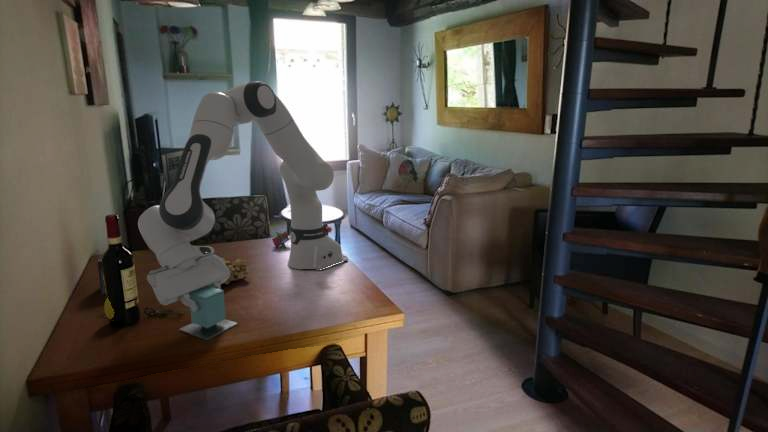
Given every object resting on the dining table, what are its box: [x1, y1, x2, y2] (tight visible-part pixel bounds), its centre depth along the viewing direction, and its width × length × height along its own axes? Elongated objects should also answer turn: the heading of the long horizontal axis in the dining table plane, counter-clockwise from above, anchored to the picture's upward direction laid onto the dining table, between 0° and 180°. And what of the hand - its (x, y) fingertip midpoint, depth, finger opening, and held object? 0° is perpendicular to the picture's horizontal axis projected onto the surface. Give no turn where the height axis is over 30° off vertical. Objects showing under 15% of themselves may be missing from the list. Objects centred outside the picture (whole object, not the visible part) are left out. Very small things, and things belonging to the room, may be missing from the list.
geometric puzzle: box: [272, 231, 291, 249], centre depth 190 cm, size 7×7×8 cm
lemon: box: [103, 297, 115, 320], centre depth 121 cm, size 6×6×8 cm
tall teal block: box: [189, 286, 227, 328], centre depth 118 cm, size 6×6×8 cm
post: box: [179, 319, 239, 341], centre depth 119 cm, size 10×10×6 cm
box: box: [97, 253, 106, 295], centre depth 142 cm, size 8×6×11 cm
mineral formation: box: [220, 257, 252, 286], centre depth 153 cm, size 8×13×15 cm
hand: (209, 304), depth 118 cm, fingers closed on tall teal block, 6 cm apart
